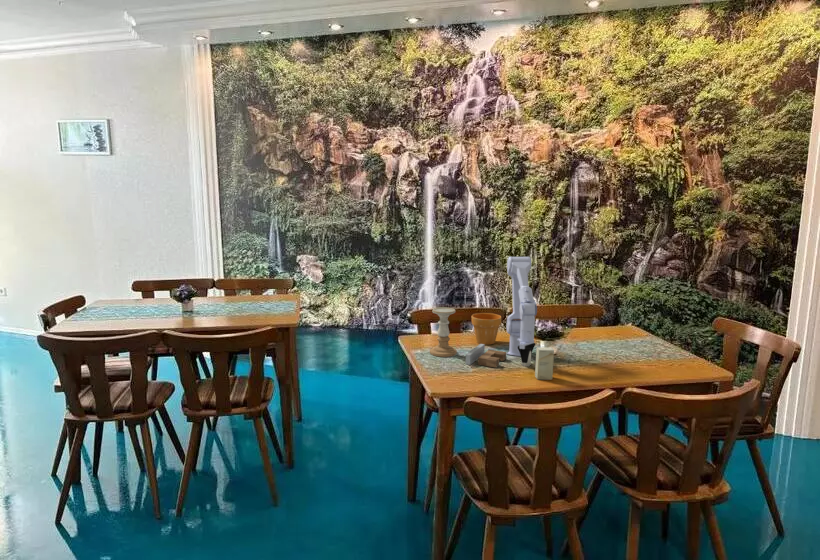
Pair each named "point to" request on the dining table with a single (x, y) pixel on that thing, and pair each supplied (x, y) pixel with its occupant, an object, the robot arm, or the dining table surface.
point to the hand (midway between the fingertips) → (526, 361)
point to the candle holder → (443, 334)
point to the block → (491, 358)
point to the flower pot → (486, 327)
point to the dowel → (528, 361)
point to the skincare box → (544, 363)
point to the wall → (475, 354)
